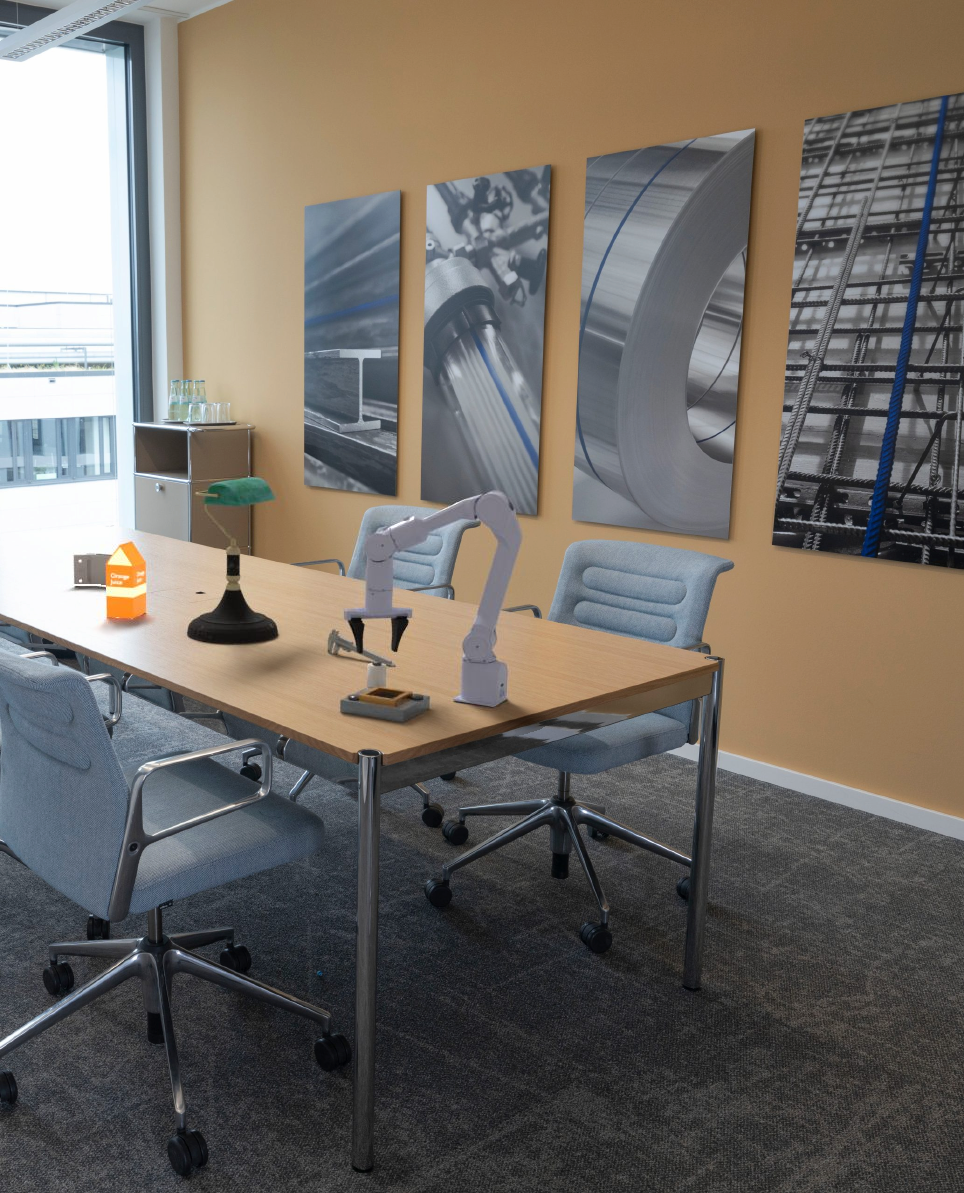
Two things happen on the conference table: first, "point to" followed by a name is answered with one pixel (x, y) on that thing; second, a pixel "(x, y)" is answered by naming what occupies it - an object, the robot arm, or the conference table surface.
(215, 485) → the banker's lamp
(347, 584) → the conference table surface
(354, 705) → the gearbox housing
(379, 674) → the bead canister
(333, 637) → the caliper
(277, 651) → the conference table surface
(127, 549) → the orange juice
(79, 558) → the hinge
